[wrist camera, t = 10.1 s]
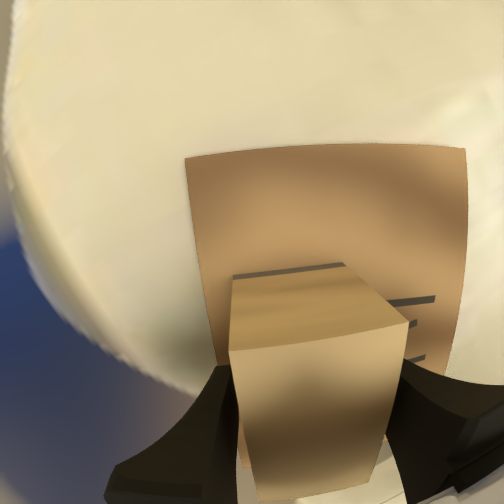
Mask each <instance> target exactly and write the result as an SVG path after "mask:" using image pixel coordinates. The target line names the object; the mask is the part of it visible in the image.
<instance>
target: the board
mask: <svg viewBox="0 0 504 504" xmlns="http://www.w3.org/2000/svg"><path fill="white" fill-rule="evenodd" d="M185 166H186V175H187V183H188V191H189V199H190V206H191V213H192V220H193V227H194V234H195V241H196V247H197V254H198V260H199V266H200V272H201V278H202V284H203V290H204V295H205V301H206V307H207V312H208V317H209V323H210V328H211V333H212V338H213V343H214V348H215V353H216V358H217V362H218V366H221V365H231V363H230V358H229V352H228V350H229V332H230V315H231V298H232V283H233V275H238V274H247V273H256V272H264V271H273V270H281V269H290V268H298V267H306V266H315V265H323V264H331V263H338V262H343V263H344V264H345V265H346V266H347V267H349V268H350V269H351V270H352V271H353V272H354V273H356V274H357V275H358V276H359V277H360V278H361V279H362V280H364V281H365V282H366V283H367V284H368V285H369V286H370V287H371V288H373V289H374V290H375V291H376V292H377V293H378V294H379V295H380V296H382V297H383V298H384V299H385V300H386V301H387V302H388V303H389V304H390V305H392V306H393V307H394V308H395V309H396V310H397V311H398V312H399V313H400V314H401V315H402V316H404V317H405V318H406V319H407V320H408V321H409V326H408V333H407V340H406V346H405V352H404V357H403V358H405V359H407V360H408V361H410V362H412V363H414V364H416V365H418V366H420V367H423V368H425V369H427V370H429V371H432V372H434V373H437V374H440V375H443V376H444V373H445V370H446V366H447V363H448V359H449V355H450V351H451V347H452V343H453V338H454V334H455V329H456V324H457V319H458V314H459V308H460V302H461V296H462V289H463V281H464V273H465V263H466V251H467V234H468V179H467V163H466V151H465V148H455V147H443V146H429V145H408V144H326V145H305V146H289V147H276V148H265V149H254V150H245V151H236V152H227V153H220V154H212V155H205V156H198V157H192V158H185ZM386 440H387V438H386V436H384V439H383V441H386ZM237 447H238V451H239V455H240V459H241V462H242V466H243V468H249V467H251V463H250V459H249V454H248V450H247V445H246V440H245V435H244V431H243V426H242V421H241V416H240V411H239V431H238V444H237Z"/></svg>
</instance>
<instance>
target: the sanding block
mask: <svg viewBox="0 0 504 504" xmlns="http://www.w3.org/2000/svg"><path fill="white" fill-rule="evenodd" d="M408 326H409V321H408V320H407V319H406V318H405V317H404V316H402V315H401V314H400V313H399V312H398V311H397V310H396V309H395V308H394V307H393V306H392V305H390V304H389V303H388V302H387V301H386V300H385V299H384V298H383V297H382V296H380V295H379V294H378V293H377V292H376V291H375V290H374V289H373V288H371V287H370V286H369V285H368V284H367V283H366V282H365V281H364V280H362V279H361V278H360V277H359V276H358V275H357V274H356V273H354V272H353V271H352V270H351V269H350V268H349V267H347V266H346V265H345V264H344V263H343V262H338V263H331V264H323V265H315V266H306V267H298V268H290V269H281V270H273V271H264V272H256V273H247V274H238V275H233V283H232V298H231V315H230V332H229V350H228V352H229V358H230V363H231V369H232V374H233V380H234V385H235V390H236V395H237V401H238V406H239V411H240V416H241V421H242V426H243V431H244V435H245V440H246V445H247V450H248V454H249V459H250V463H251V468H252V472H253V477H254V481H255V485H256V489H257V494H258V498H259V502H260V503H261V502H271V501H280V500H288V499H295V498H301V497H307V496H313V495H318V494H323V493H328V492H333V491H337V490H341V489H345V488H349V487H353V486H357V485H360V484H364V483H367V482H368V481H369V479H370V476H371V474H372V471H373V468H374V466H375V463H376V460H377V457H378V454H379V451H380V448H381V445H382V442H383V439H384V436H385V432H386V429H387V426H388V422H389V419H390V415H391V411H392V407H393V403H394V399H395V395H396V391H397V387H398V382H399V378H400V373H401V368H402V363H403V357H404V352H405V346H406V340H407V333H408Z"/></svg>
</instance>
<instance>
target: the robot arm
mask: <svg viewBox="0 0 504 504" xmlns="http://www.w3.org/2000/svg"><path fill="white" fill-rule="evenodd" d="M238 431H239V406H238V401H237V395H236V390H235V385H234V380H233V374H232V369H231V365H221V366H216V367H215V369H214V371H213V373H212V375H211V376H210V378H209V380H208V382H207V383H206V385H205V387H204V388H203V390H202V391H201V393H200V395H199V396H198V398H197V399H196V400H195V402H194V403H193V405H192V406H191V407H190V408H189V410H188V411H187V412H186V414H185V415H184V416H183V417H182V418H181V419H180V420H179V421H178V422H177V423H176V424H175V426H174V427H172V429H170V430H169V431H168V432H167V433H166V434H165V435H164V436H163V437H161V438H160V439H159V440H158V441H157V442H155V443H154V444H152V445H151V446H149V447H148V448H146V449H145V450H143V451H142V452H140V453H139V454H137V455H135V456H134V457H131V458H130V459H128V460H126V461H124V462H122V463H120V464H118V465H116V466H115V468H114V470H113V472H112V474H111V476H110V479H109V481H108V484H107V487H106V490H105V493H104V499H105V501H106V502H107V504H238V501H237V484H236V456H237V444H238ZM385 436H386V438H387V440H388V442H389V444H390V447H391V450H392V453H393V455H394V458H395V461H396V464H397V467H398V470H399V473H400V477H401V480H402V484H403V488H404V492H405V496H406V501H407V504H504V385H484V384H476V383H470V382H465V381H460V380H456V379H452V378H449V377H446V376H443V375H440V374H437V373H434V372H432V371H429V370H427V369H425V368H423V367H420V366H418V365H416V364H414V363H412V362H410V361H408V360H407V359H405V358H403V363H402V368H401V373H400V378H399V382H398V387H397V391H396V395H395V399H394V403H393V407H392V411H391V415H390V419H389V422H388V426H387V429H386V432H385Z"/></svg>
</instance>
